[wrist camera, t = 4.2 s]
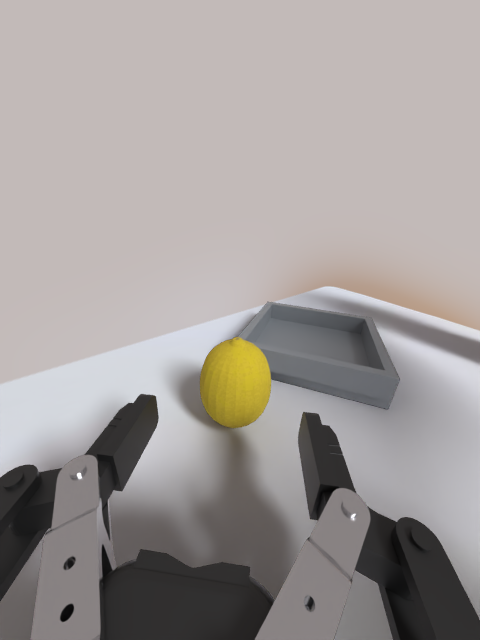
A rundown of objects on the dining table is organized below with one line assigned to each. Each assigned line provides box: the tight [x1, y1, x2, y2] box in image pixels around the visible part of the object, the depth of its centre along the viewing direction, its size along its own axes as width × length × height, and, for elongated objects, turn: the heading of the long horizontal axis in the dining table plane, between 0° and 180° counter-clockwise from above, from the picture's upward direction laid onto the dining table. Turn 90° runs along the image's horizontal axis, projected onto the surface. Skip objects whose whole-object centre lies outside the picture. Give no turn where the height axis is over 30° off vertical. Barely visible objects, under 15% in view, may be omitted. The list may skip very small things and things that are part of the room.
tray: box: [238, 302, 400, 409], centre depth 30 cm, size 16×16×4 cm
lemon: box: [200, 337, 271, 428], centre depth 18 cm, size 6×6×8 cm
